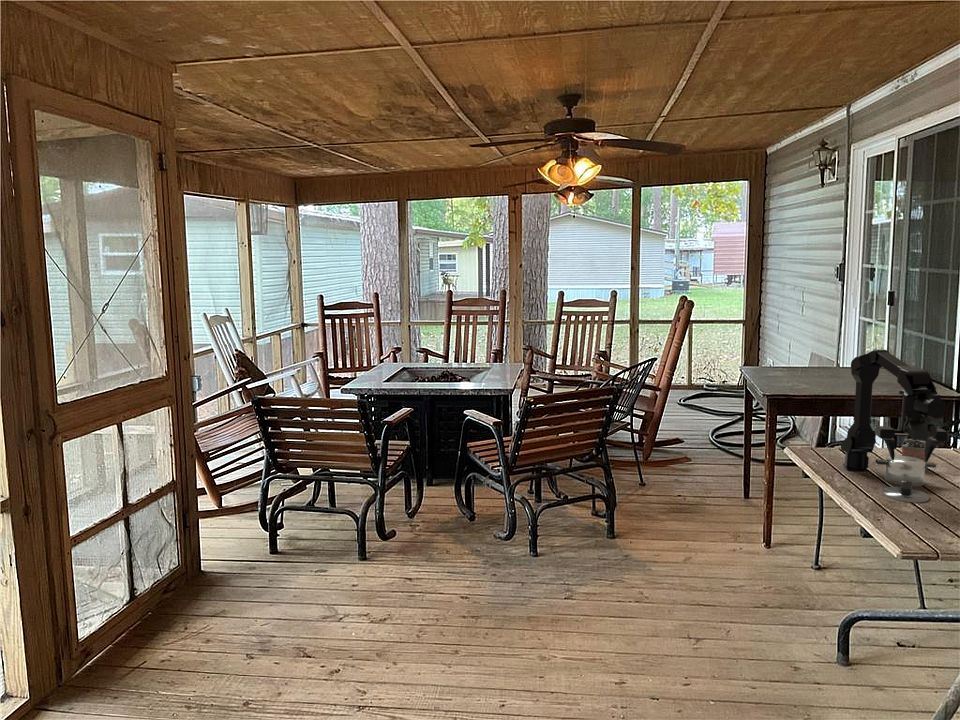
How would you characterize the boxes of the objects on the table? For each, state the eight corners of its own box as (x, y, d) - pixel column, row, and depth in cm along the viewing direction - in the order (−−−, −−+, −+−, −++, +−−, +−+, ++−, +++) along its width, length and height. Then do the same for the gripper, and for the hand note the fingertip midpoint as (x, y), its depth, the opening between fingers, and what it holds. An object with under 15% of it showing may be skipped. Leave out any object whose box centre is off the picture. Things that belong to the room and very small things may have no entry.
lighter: (927, 467, 243) (929, 440, 241) (927, 470, 240) (929, 442, 238) (900, 464, 247) (902, 437, 246) (899, 466, 244) (902, 439, 243)
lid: (889, 502, 212) (890, 486, 211) (877, 488, 224) (878, 473, 223) (935, 505, 209) (936, 489, 208) (920, 491, 220) (922, 476, 220)
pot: (880, 484, 226) (881, 463, 225) (870, 474, 237) (872, 454, 236) (939, 488, 222) (941, 467, 221) (927, 477, 232) (928, 457, 231)
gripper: (887, 415, 207) (883, 466, 209) (958, 418, 202) (954, 470, 204) (876, 407, 217) (872, 456, 220) (943, 410, 213) (939, 459, 215)
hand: (909, 460), depth 214 cm, fingers open, 9 cm apart
